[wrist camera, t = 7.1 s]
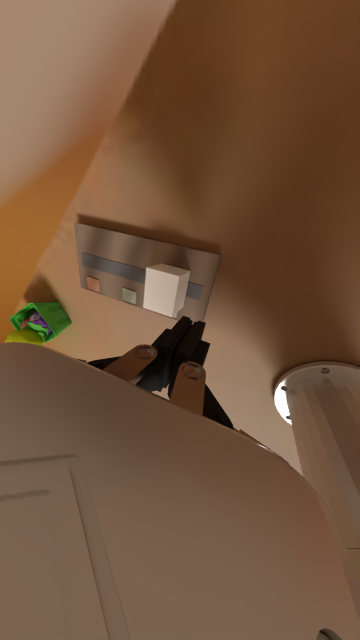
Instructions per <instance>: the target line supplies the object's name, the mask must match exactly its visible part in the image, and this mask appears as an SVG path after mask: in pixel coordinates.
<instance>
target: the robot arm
mask: <svg viewBox="0 0 360 640" xmlns="http://www.w3.org/2000/svg"><path fill="white" fill-rule="evenodd" d="M192 323H193V321H192V320H191V318H189V317H186V316H182V317H181V319H180V320H179V321H178V322H177V323H176V325H175V326H174V327H173V328H172V329H171V330H170V329H165V331H164V332H163V333H162V334H161V335H160V336H159V337H158V338H157V339H156V340H155V342H154V343H153V344H152V345H151V346H150V345H146V344H144V345H138V346H136V347H134V348H133V349H131V350H130V351H128V352H127V353H126V354H124V355H123V356H120V357H113V358H107V359H100V360H94V361H90V362H88V363H87V361H86V360H81V359H76V358H73V357H70V356H68V355H65V354H63V353H61V352H58V351H55V350H53V349H50V348H47V347H44V346H40V345H36V344H30V343H21V342H5V343H0V640H360V367H357V366H354V365H351V364H347V363H341V362H331V361H321V362H312V363H307V364H303V365H300V366H297V367H294V368H292V369H291V370H289V371H287V372H286V373H285V374H283V375H282V376H281V377H280V378H279V380H278V381H277V382H276V385H275V387H274V393H273V396H274V403H275V406H276V409H277V410H278V412H279V413H280V415H281V416H282V417H283V418H284V419H285V420H286V421H287V422H289V423H290V424H291V425H292V429H293V433H294V438H295V442H296V447H297V451H298V456H299V460H300V464H301V469H302V473H303V476H302V475H301V474H300V473H298V472H297V471H296V470H295V469H294V468H293V467H291V466H290V465H289V463H288V462H287V461H285V460H284V459H283V458H282V457H280V456H279V455H278V454H276V453H275V452H273V451H272V450H270V449H269V448H267V447H266V446H264V445H263V444H261V443H260V442H259V441H257V440H256V439H254V438H253V437H251V436H250V435H248V434H247V433H245V432H244V431H242V430H241V429H240V430H239V431H238V430H237V429H235V428H234V427H233V424H232V423H231V421H230V419H229V417H228V416H227V415H226V413H225V412H224V410H223V409H222V407H221V406H220V404H219V403H218V401H217V400H216V398H215V397H214V395H213V394H212V392H211V391H210V389H209V388H208V387H207V385H206V384H205V380H206V372H205V370H204V368H203V364H204V362H205V359H206V356H207V352H208V349H209V346H210V343H208V342H205V341H202V340H201V339H202V335H203V331H204V328H205V324H206V323H205V322H202V321H199V320H198V322H194V323H193V325H192ZM168 384H169V386H168ZM167 386H168V397H169V399H170V401H169V400H167V399H165V398H163V397H161V396H158V395H156V394H154V393H152V391H156V390H157V391H159V392H161V390H162V389H163V387H164V388H166V387H167Z"/></svg>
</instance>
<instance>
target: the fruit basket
mask: <svg viewBox="0 0 360 640" xmlns="http://www.w3.org/2000/svg"><path fill="white" fill-rule="evenodd" d="M10 321H11V323H12V325H13V326H14V327H15V329H16V331H12V332H10V333H9V334H8V335H7V337H6V340H5V342H21V343H30V344H36V345H40V346H42V345H43V343H45V342H47V341H49V340H52V339H54V338H55V337H56V336H58V334H59V333H60V332H62V331H63V330H64V329H65V328H66V327H68V326H69V325H70V324H71V323H72V322H71V320H70V319H69V318H68V316H67V314H66V313H65V311H64V310H63V308H62V307H61V305H60V303H59V302H50V303H29V304H28V305H27V306H25V307H24V308H23V309H21V310H20V311H18V312H17V313H16V314H15V315H13V316H12V317H11V318H10Z"/></svg>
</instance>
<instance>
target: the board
mask: <svg viewBox="0 0 360 640" xmlns="http://www.w3.org/2000/svg"><path fill="white" fill-rule="evenodd" d="M74 225H75V235H76V244H77V254H78V264H79V274H80V284H81V288H84V289H87V290H90V291H93V292H96V293H99V294H102V295H105V296H108V297H111V298H114V299H117V300H119V301H122V302H125V303H128V304H131V305H134V306H137V307H140V308H143V303H144V290H145V278H146V267H150V266H154V265H158V264H166V265H169V266H173V267H177V268H181V269H185V270H189V271H190V276H189V281H188V286H187V291H186V296H185V301H184V306H183V308H182V309H180V310H179V311H178V312H177V313H176V314H175V315H174V316H173V317H169V316H166V315H164V316H166V317H169V318H172V319H175V320H178V321H179V320H180V319H181V317H182V316H186V317H189V318H191V320H192V321H193V323H194V322H198V320H199V321H202V322H203V320H204V317H205V313H206V309H207V306H208V302H209V298H210V295H211V291H212V287H213V284H214V280H215V276H216V273H217V269H218V266H219V262H220V258H221V254H216V253H212V252H208V251H203V250H199V249H194V248H190V247H185V246H181V245H176V244H172V243H167V242H163V241H159V240H154V239H150V238H145V237H141V236H136V235H132V234H127V233H123V232H118V231H114V230H110V229H105V228H101V227H96V226H92V225H87V224H83V223H74ZM143 309H146V308H143ZM146 310H149V309H146ZM149 311H151V310H149ZM152 312H154V311H152ZM155 313H157V312H155ZM158 314H160V313H158ZM161 315H163V314H161ZM193 323H192V325H193Z"/></svg>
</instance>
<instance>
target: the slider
mask: <svg viewBox="0 0 360 640" xmlns="http://www.w3.org/2000/svg"><path fill="white" fill-rule="evenodd" d="M189 276H190V271H189V270H185V269H181V268H177V267H173V266H169V265H166V264H158V265H154V266H150V267H146V278H145V290H144V303H143V308H146V309H149V310H151V311H154V312H157V313H160V314H163V315H166V316H169V317H173V316H174V315H175V314H176V313H177V312H178V311H179V310H180V309H182V308H183V306H184V301H185V296H186V291H187V286H188V281H189Z"/></svg>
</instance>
